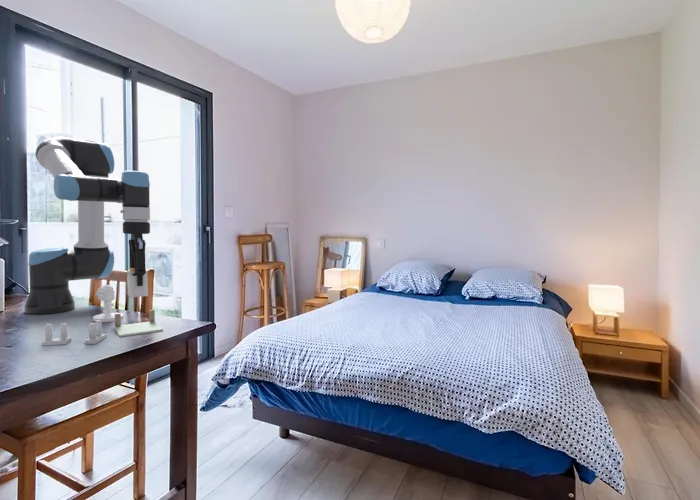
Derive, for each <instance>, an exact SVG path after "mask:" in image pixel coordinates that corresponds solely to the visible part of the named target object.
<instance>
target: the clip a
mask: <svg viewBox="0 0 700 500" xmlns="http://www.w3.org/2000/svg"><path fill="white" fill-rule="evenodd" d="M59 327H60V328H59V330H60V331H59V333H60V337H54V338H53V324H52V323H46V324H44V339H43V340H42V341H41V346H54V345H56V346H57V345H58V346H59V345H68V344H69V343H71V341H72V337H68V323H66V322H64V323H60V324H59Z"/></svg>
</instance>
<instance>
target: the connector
mask: <svg viewBox="0 0 700 500" xmlns="http://www.w3.org/2000/svg"><path fill="white" fill-rule="evenodd" d="M148 273H149V272H148V270H147V269H146V273H145V274H144V292H145V296H144V297H149V274H148ZM132 274H135V268H130V267H129V268H128V269H127V270H126V277H127V279H126V283H127V284H126V286H127V296H128V297H129V298H140V297H143V296H137V297H135V296H134V276H132Z"/></svg>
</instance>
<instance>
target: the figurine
mask: <svg viewBox="0 0 700 500" xmlns="http://www.w3.org/2000/svg"><path fill="white" fill-rule="evenodd" d="M94 295H95V296H96V297H97V300H99V301H100V300H101V301H102V302H103V308H104V309H103V310H102V312H103V313H100V314H96V315H93V316H92V321H93V322H95V321H96V320H102V323H110V322H115V314H118V313H119V314H121V320H123V319H124V318H125V317H124V313H122V312H113V307H114V308H115V305H114V303H112V302H113V301H114V300H115V297H116V296H115V290H114V287H113V286H112V285H109V284H106V285H105V284H104V285H103V286H101V287H99V288H97V291H96V293H95V294H94Z"/></svg>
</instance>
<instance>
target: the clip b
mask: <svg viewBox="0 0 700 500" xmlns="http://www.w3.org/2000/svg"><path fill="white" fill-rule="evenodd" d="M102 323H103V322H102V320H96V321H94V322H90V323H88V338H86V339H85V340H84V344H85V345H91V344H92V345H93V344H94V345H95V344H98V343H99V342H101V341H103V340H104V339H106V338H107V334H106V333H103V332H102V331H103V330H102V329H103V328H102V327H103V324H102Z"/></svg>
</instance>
